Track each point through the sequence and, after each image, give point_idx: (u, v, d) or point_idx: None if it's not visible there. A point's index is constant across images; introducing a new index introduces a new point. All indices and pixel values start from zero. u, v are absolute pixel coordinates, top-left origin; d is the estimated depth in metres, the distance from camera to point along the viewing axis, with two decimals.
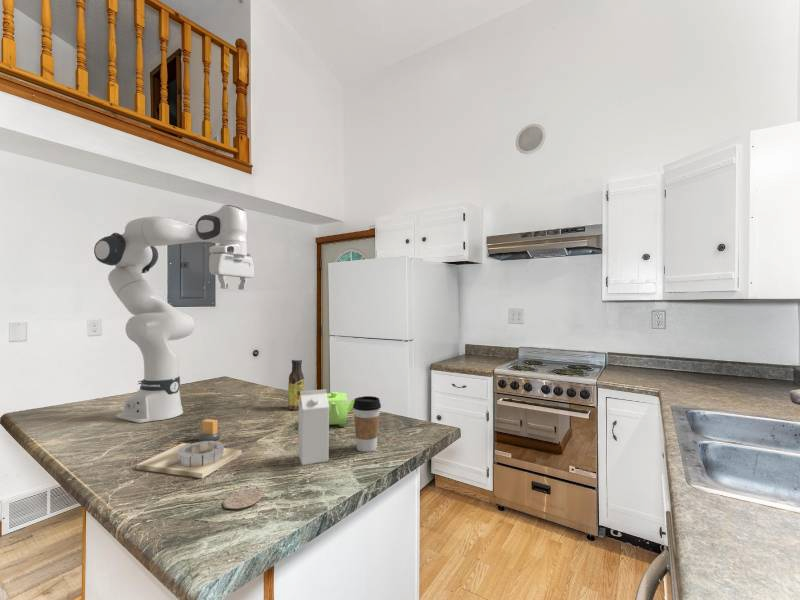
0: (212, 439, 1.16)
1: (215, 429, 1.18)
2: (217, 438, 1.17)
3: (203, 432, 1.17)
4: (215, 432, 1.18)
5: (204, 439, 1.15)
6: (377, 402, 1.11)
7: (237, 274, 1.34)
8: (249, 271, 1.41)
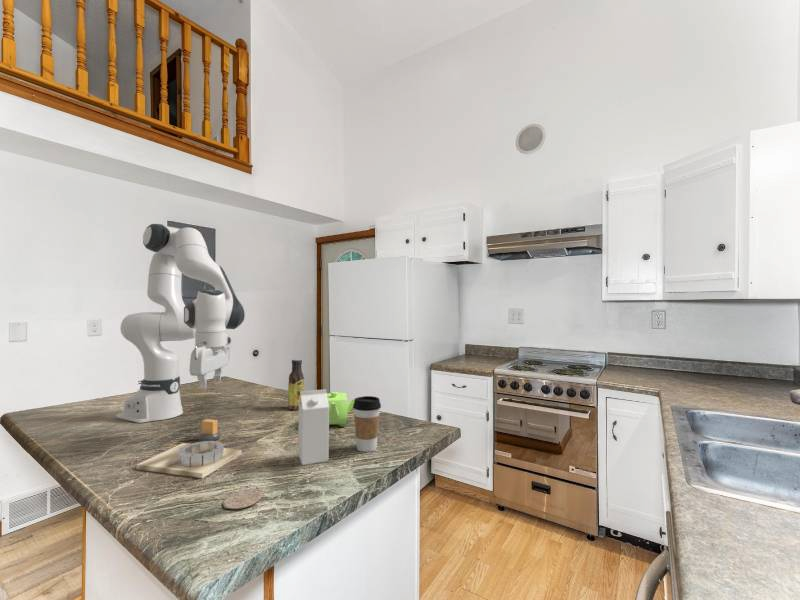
0: (212, 439, 1.16)
1: (215, 429, 1.18)
2: (217, 438, 1.17)
3: (203, 432, 1.17)
4: (215, 432, 1.18)
5: (204, 439, 1.15)
6: (377, 402, 1.11)
7: None
8: None
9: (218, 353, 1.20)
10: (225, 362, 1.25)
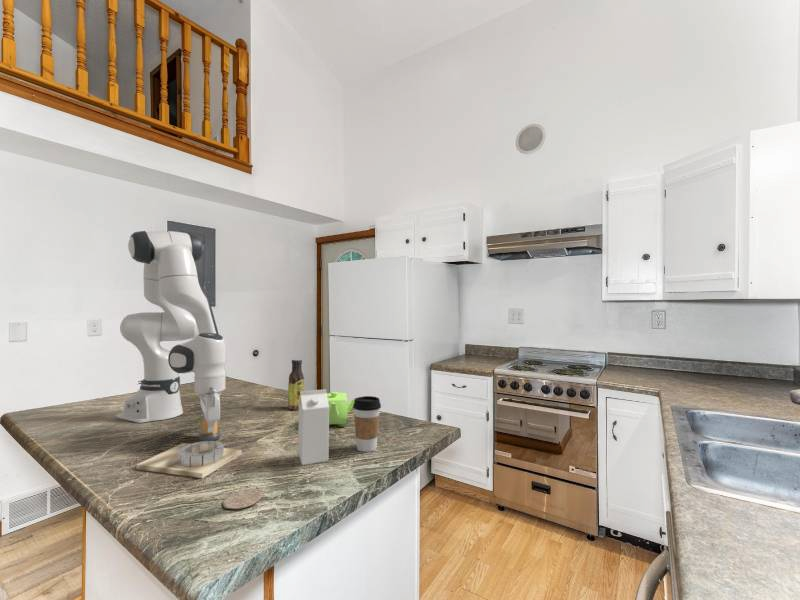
0: (212, 439, 1.16)
1: (215, 429, 1.18)
2: (217, 438, 1.17)
3: (203, 432, 1.17)
4: (215, 432, 1.18)
5: (204, 439, 1.15)
6: (377, 402, 1.11)
7: (203, 412, 1.17)
8: (205, 413, 1.11)
9: None
10: None
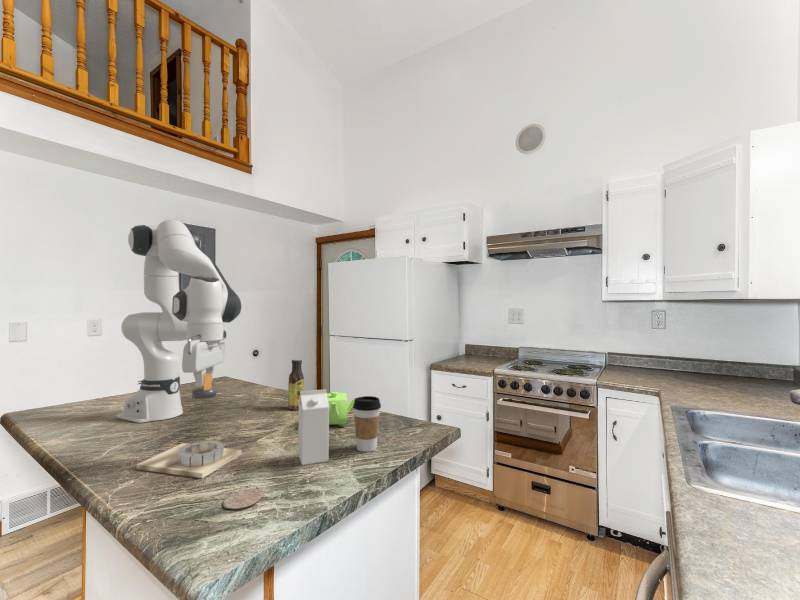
0: (202, 395, 1.01)
1: (208, 384, 1.03)
2: (208, 395, 1.02)
3: (198, 387, 1.04)
4: (208, 388, 1.03)
5: (194, 394, 1.01)
6: (377, 402, 1.11)
7: None
8: None
9: (213, 348, 1.06)
10: (220, 359, 1.11)
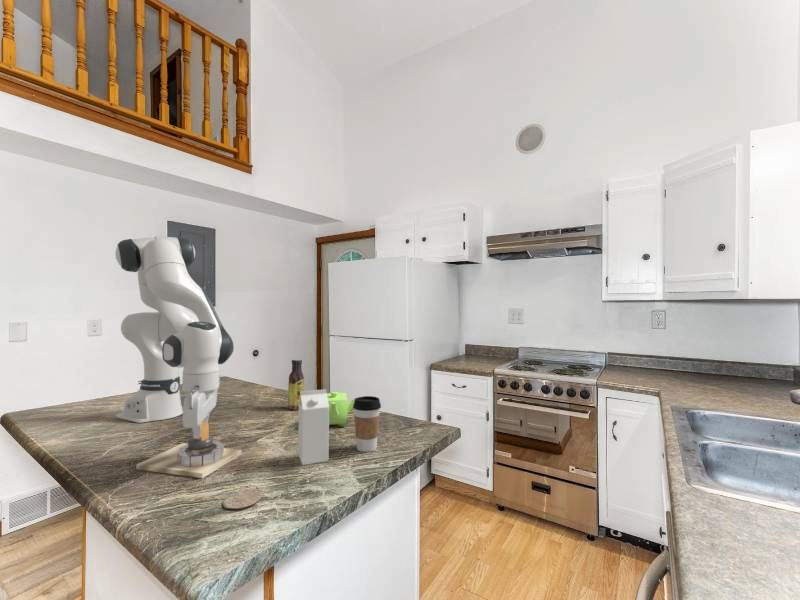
0: (199, 446, 0.98)
1: (205, 434, 1.00)
2: (206, 445, 0.99)
3: None
4: (205, 438, 1.00)
5: (191, 445, 0.98)
6: (377, 402, 1.11)
7: None
8: None
9: (209, 396, 1.03)
10: (213, 404, 1.08)
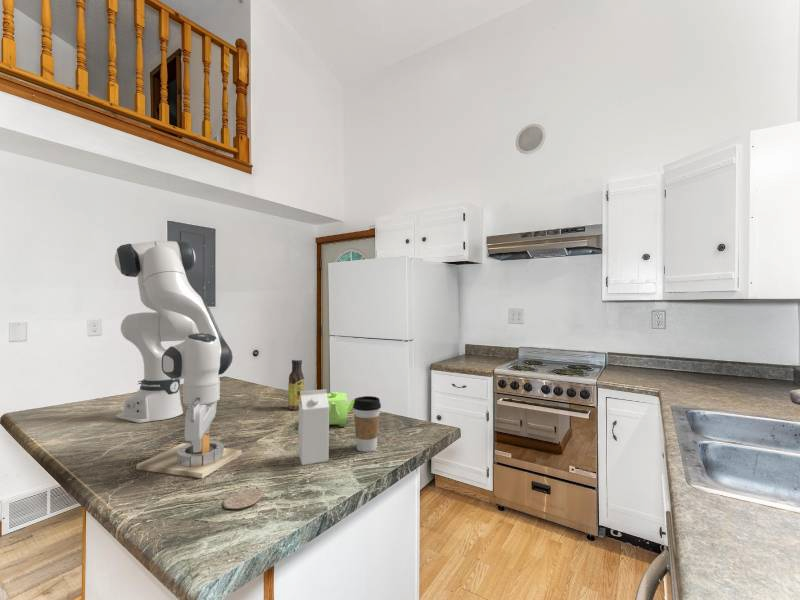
0: None
1: (206, 446, 1.00)
2: None
3: None
4: (206, 450, 1.00)
5: None
6: (377, 402, 1.11)
7: None
8: None
9: (209, 407, 1.03)
10: (213, 415, 1.08)
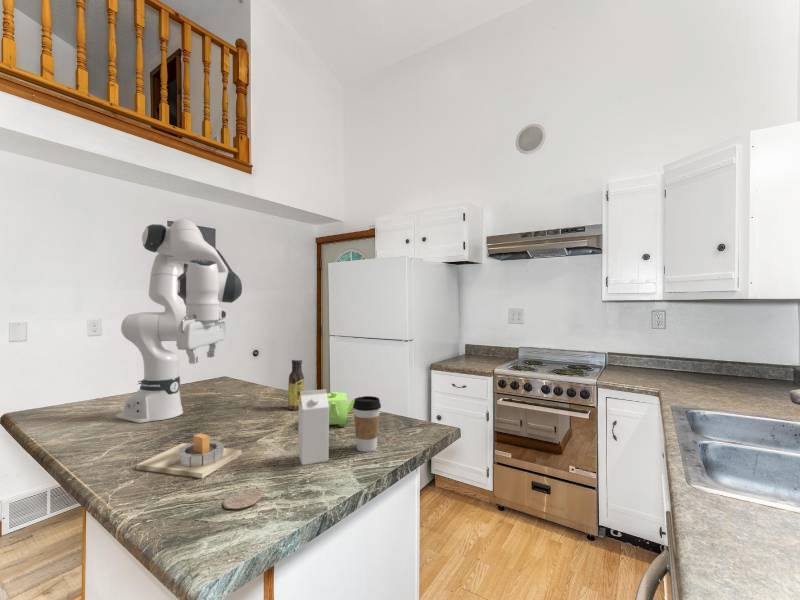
0: None
1: (206, 446, 1.00)
2: None
3: (194, 449, 1.01)
4: (206, 450, 1.00)
5: None
6: (377, 402, 1.11)
7: None
8: None
9: (211, 327, 1.14)
10: (220, 337, 1.19)
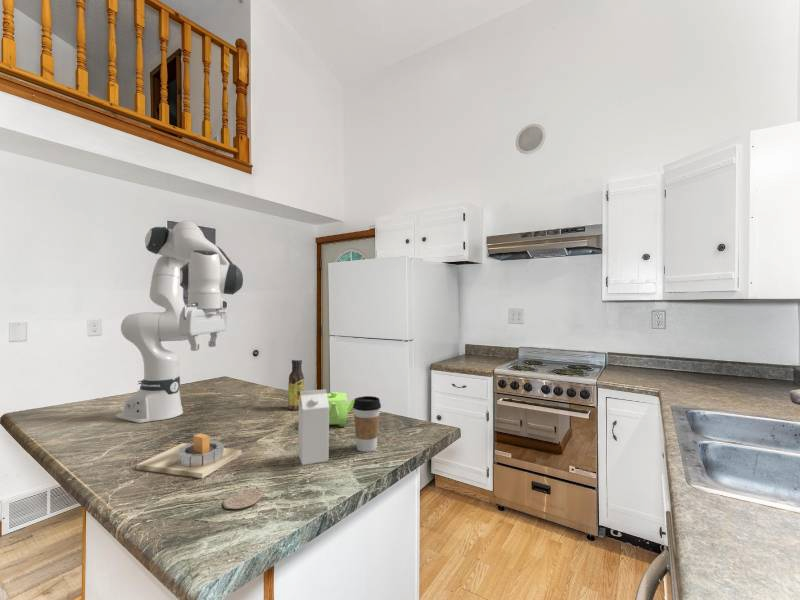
0: None
1: (206, 446, 1.00)
2: None
3: (194, 449, 1.01)
4: (206, 450, 1.00)
5: None
6: (377, 402, 1.11)
7: None
8: None
9: (212, 316, 1.16)
10: (221, 327, 1.21)
